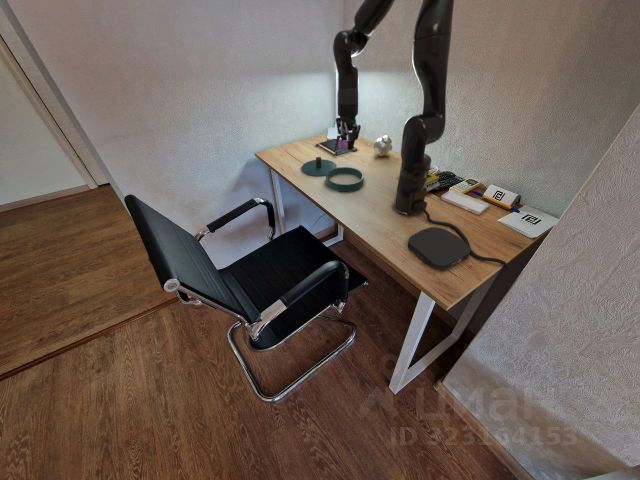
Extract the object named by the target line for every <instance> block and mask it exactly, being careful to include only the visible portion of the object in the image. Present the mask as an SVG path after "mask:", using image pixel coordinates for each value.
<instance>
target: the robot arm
mask: <svg viewBox="0 0 640 480" xmlns="http://www.w3.org/2000/svg"><path fill="white" fill-rule="evenodd" d="M395 2H396V0H363V1H362V3H361V5H360V6H359V7H358V9H357V10H356V12H355V14H354V17H353V22H354V26H353V27H352V28H351V29H345V30H344V29H343V30H340V31H338V32H337V33H336V34H335V37H334V38H333V43H332V52H333V57H334V64H335V67H336V70H337V116H338V117H336V118H335V124H336V130H337V134H338V135H339V136H340V135H344V134H347V136H346V137H343V138H341V137H340V140H341V141H342V140H347V141H348V150H352V149H353V148H354V147H355V143H354V140H355V141H357V140H358V139H359V135H360V131H361V124H357V120H356V117H357V116H358V115H359V101H360V100H359V99H360V97H359V96H360V95H359V94H360V93H359V92H360V91H359V81H360V79H359V78H360V77H359V76H360V73H359V68H358V66H356V65H353V64H354V63H353V59H352V58H353V57H356V56H358V55H360V54H361V53H362V52H363V51H364V50H365V48H366V47H367V44H368V43H369V41H370V40H371V37H372V35H373V33H374V31H375V30H376V29H377V28H378V27H379V25H380V24H381V23H382V22H383V20H384V19H385V18H386V17H387V15H388V14H389V12H390V11H391V9H392V7H393V6H394V4H395ZM454 7H455V0H422V3H421V6H420V9H419V12H418V15H417V17H416V21H415V25H414V28H413V34H412V36H413V37H412V55H411V56H412V57H411V59H412V66H413V69H414V73H415V75H416V78H417V80H418V82H419V84H420V87H421V92H422V112H421V113H419V114H416V115H412V116H410V117H409V118H408V119H407V120H406V121H405V124H404V126H403V130H402V136H401V145H400V159H401V162H400V169H399V175H398V180H397V181H398V182H397V186H396V193H395V197H394V199H393V201H394V204H393V209H394V210H395V211H396V212H397V213H399V214H401V215H406V216H408V217H411V216H414V215H416V214H419V213H421V212H422V213H424V214H425V216H426V219H427V221H428V222H429V223H431V224H434V225H440V226H446V227H450V228H452V229H453V230H454V231H456V233H457V234H458V235H459V236H460V238H461V239H462V240H463V241H464V242H465V243H466V244H467V245H468V246H469V248H470V253H469V254H470V255H471V256H472V257H473V258H476V259H478V260H481V261H486V262H494V263H499V264H501V265H503V267H504V268H506V270H508V271H510V270H512V268H511V266H510V265H509V264H508V263H507V262H506V261H504V260H503V259H501V258H495V257H488V256H481V255H479V254H477V253H475V252H474V251H473V250H472V247H471V245H470V242H469V240H468V238H467V236H466V235H465V234H464V233H463V232H462V230H461V229H460V228H459V227H457V226H456V225H454V224H453V223H451V222H447V221H446V222H444V221H437V220H433V219H432V218H431V217H430V216H431V215H430V214H429V212H428V211H427V210H426V209H427V206H428V202H427V201H426V200H425V199H426V195H427V192H426V191H427V189H426V188H425V185H426V181H427V177H428V173H430V168H431V164H432V157H431V156H430V155H428V154H427V153H425V151H426V146H428V145H431V144H433V143H436V142H438V141H439V140H440V139H441V138H442V137H443V135H444V133H445V129H446V122H447V121H446V116H447V115H446V114H447V113H446V112H447V111H446V110H447V109H446V108H447V107H446V106H447V105H446V100H447V99H446V98H447V95H446V94H447V82H448V81H447V80H448V70H449V69H448V67H449V59H450V49H451V43H452V42H451V41H452V30H453V17H454ZM350 134H352V135H351V137H350ZM469 346H470V345H469V344H468V343H466V344H465V345H464V347H463V350H465V351H466V350H467V349H468V348H469ZM467 347H468V348H467Z"/></svg>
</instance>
